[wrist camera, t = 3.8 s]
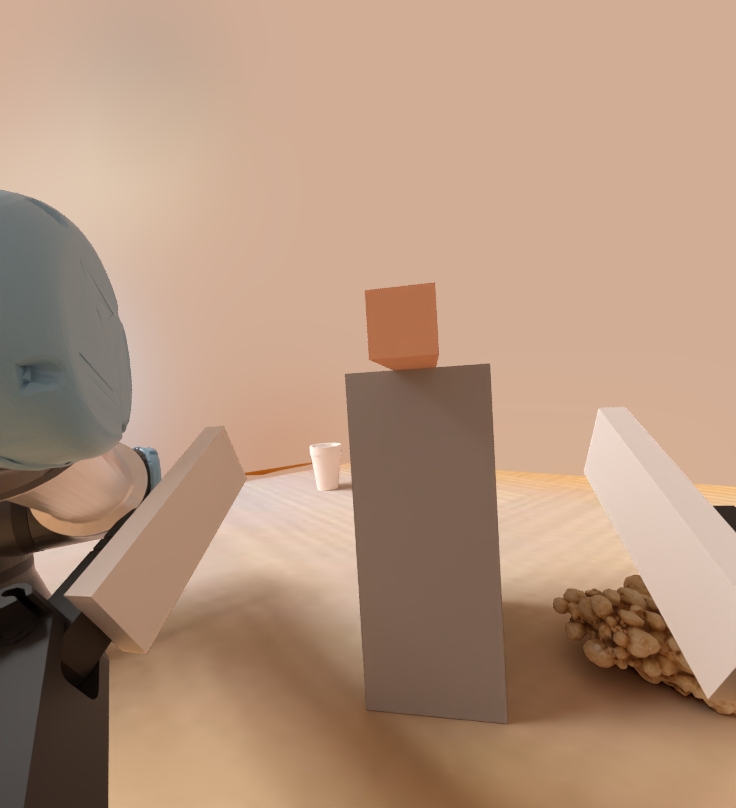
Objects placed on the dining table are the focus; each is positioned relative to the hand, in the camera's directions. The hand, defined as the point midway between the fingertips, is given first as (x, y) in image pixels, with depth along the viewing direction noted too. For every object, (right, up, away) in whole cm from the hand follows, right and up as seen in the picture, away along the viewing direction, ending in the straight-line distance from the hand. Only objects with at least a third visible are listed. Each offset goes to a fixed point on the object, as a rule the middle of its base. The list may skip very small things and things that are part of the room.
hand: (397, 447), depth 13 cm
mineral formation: (+26, -24, +23) cm, 42 cm away
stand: (+6, -25, +27) cm, 37 cm away
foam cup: (-13, -24, +95) cm, 99 cm away
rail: (+3, +5, +19) cm, 19 cm away
